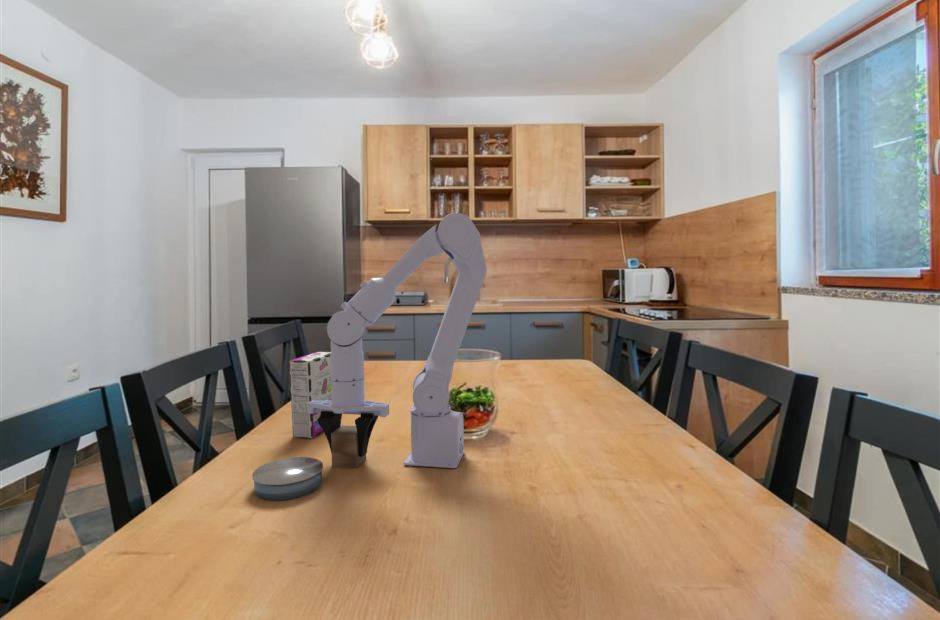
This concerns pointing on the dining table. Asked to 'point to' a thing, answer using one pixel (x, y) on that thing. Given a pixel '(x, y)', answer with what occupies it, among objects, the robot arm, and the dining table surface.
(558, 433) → the dining table surface
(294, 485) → the biscuit tin
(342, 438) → the walnut block
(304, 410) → the candy bar box
